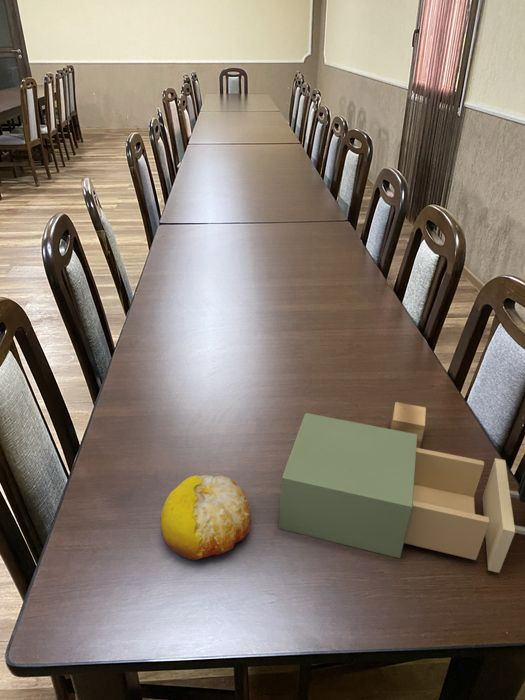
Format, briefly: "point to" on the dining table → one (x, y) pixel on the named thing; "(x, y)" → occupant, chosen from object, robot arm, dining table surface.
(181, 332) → the dining table surface
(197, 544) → the fruit
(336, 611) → the dining table surface
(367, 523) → the cabinet
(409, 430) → the block
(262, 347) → the dining table surface
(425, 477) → the drawer
